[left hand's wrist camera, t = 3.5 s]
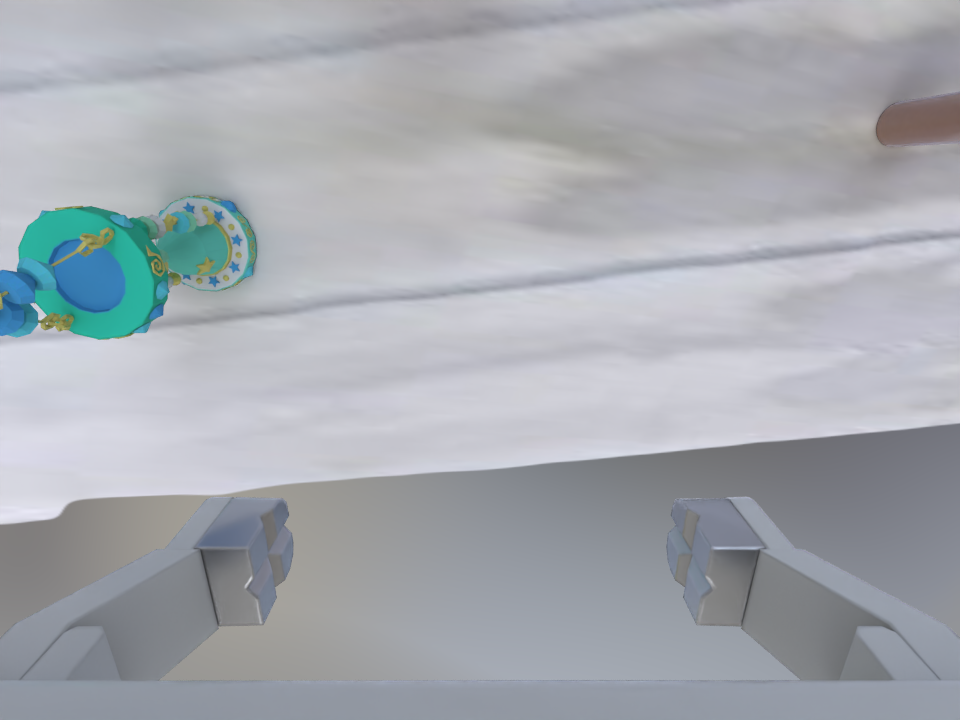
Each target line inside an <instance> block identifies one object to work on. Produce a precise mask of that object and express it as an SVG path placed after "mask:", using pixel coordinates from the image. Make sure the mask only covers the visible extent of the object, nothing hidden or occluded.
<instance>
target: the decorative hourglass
mask: <svg viewBox="0 0 960 720" xmlns="http://www.w3.org/2000/svg"><path fill="white" fill-rule="evenodd" d="M59 209H64V210H59ZM55 210H57V211H42V212H41V214H40V216H39V218H38V219H37V220H35V221H34V222H33V223H31V224H30V225H28V227H27V229H26V231H25V234H24V236H23V238H22V241H21V243H20V245H19V247H18V248H19V263H18V266H17V272H13V271H7V270H1V271H0V336H4V335H9V336H13V337H20V336H24V335H27V334H30V333H31V332H32V331H33V330H34V329H35V327H36V326H37V325H38V323H41V328H42V329H44V330H48V329H50V328H53V327H54V326H56V329H57V330H58V331H62V330H69V331H71V332H73V333H74V334H78V335H83V336H87V337H91V338H95V339H97V340H105V339H110V338H118V339H119V338H124V337H128V336H131V335H132V334H134V333H146V332H147V331H148V328H149V326H150V324H151V321H153V320H154V319H156V318H157V317H160V316H162V315H163V306H164V304H165V302H166V301H167V297H168V293H169V292H170V291H169V288H170V287H172V285H178V284H180V282H182V283H183V284H186V285H189V286H191V287H193V288H195V289H197V290H205V291H219V290H224V289H227V288H230V287H232V286H235V285H237V284H239V283H240V282H241V281H242V280H243V279H244V278H246V277H249V276H251V275H253V265H254V262H255V259H256V256H257V253H256V241H255V236H254V234H253V232H252V230H251V228H250V226H249V224H248V221H247V220H246V219H245V218H244V217H243V216H242V215H241V214H240V213H239V212H238V211H237V209H236V207H235V205H234V203H232V202H230V201H221V200H219V199H217V198H215V197H208V196H204V195H200V196H193V197H190V196H188V197H184V198H182V199H180V200H177V201H174V202H172V203H170V205H169V206H168V207H167V208H166V209H165V210H162V211H160V213H159V217H157V216H154V215H150V216H147V217H144V216H142V217H139V218H130V219H128V218H127V217H126V216H125V215H120V214H118V213H116V212H112V211H108V210H104V209H100V208H96V207H92V206H90V207H83V206H75V207H63V208H55ZM152 239H156V246H157V247H156V246H155V245H154V243H153V242H152V241H151V240H152ZM168 270H169V271H170V272H171V273H169V274H168ZM30 303H34V304H35V303H36V304H37V305H38V306H39V307H40V308H41V309H42V310H43V312H44V313H45V314H46V315H47V317H45V318H44V319H42V320H41V321H40V320H38V312H37V311H36V310H35V309H34V308H33V307H32V306H31V305H30ZM47 322H48V325H46V323H47ZM55 322H56V323H55Z"/></svg>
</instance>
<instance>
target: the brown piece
mask: <svg viewBox="0 0 960 720" xmlns="http://www.w3.org/2000/svg"><path fill="white" fill-rule="evenodd" d="M876 132H877V137H878V139H879V141H880V142H881V143H882V144H883V145H885V146H888V147H903V146H920V145H938V144H955V143H960V92H954V93H948V94H942V95H936V96H930V97H924V98H918V99H912V100H906V101H900V102H897V103H894V104H892V105H891V106H889V107H888V108H887V109H886V110H885V111H884V112H883V113H882V115H881V116H880V118H879V120H878V123H877V128H876Z"/></svg>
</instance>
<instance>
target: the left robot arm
mask: <svg viewBox="0 0 960 720" xmlns="http://www.w3.org/2000/svg"><path fill="white" fill-rule="evenodd" d="M288 516H289V512H288V508H287V503H286V501H285V500H284V499H282V498H246V497H236V498H234V497H212V498H209V499H206V500H205V501H204V503H203V504H202V505H201V506H200V507H199V509H198V510H197V511H196V512H195V513H194V515H193V516H192V517H191V518H190V519H189V520H188V522H187V523H186V524H185V525H184V526H183V528H182V529H181V530H180V531H179V532H178V534H177V535H176V536H175V537H174V538H173V539H172V541H171V542H170V543H169V544H168V545H167V547H166V548H165V549H156V550H154V551H152V552H150V553H148V554H146V555H145V556H143V557H141V558H139V559H137V560H135V561H133V562H131V563H130V564H127V565H126V566H124V567H122V568H120V569H118V570H116V571H114V572H112V573H110V574H108V575H107V576H105V577H103V578H101V579H99V580H97V581H95V582H93V583H91V584H89V585H87V586H86V587H84V588H82V589H80V590H78V591H76V592H74V593H72V594H70V595H68V596H67V597H65V598H63V599H61V600H59V601H57V602H55V603H53V604H51V605H49V606H47V607H46V608H44V609H42V610H40V611H38V612H36V613H34V614H32V615H30V616H28V617H27V618H25V619H23V620H21V621H19V622H17V623H15V624H14V625H13V626H12V627H11V628H10V629H9V630H8V631H7V632H6V633H5V634H4V635H2V636H1V637H0V720H960V637H959V636H958V635H957V634H956V633H955V632H954V631H953V630H952V629H951V628H950V627H949V626H948V625H946V624H944V623H943V622H941V621H939V620H937V619H935V618H933V617H931V616H929V615H927V614H925V613H924V612H922V611H920V610H918V609H916V608H914V607H912V606H910V605H908V604H907V603H905V602H903V601H901V600H899V599H897V598H895V597H893V596H891V595H889V594H888V593H886V592H884V591H882V590H880V589H878V588H876V587H874V586H872V585H870V584H869V583H867V582H865V581H863V580H861V579H859V578H857V577H855V576H853V575H851V574H850V573H848V572H846V571H844V570H842V569H840V568H838V567H836V566H834V565H832V564H831V563H829V562H827V561H825V560H823V559H821V558H819V557H817V556H815V555H813V554H812V553H810V552H808V551H806V550H804V549H795V548H794V547H793V545H792V544H791V543H790V542H789V541H788V540H787V538H786V537H785V536H784V535H783V534H782V532H781V531H780V530H779V529H778V528H777V526H776V525H775V524H774V523H773V522H772V521H771V519H770V518H769V517H768V516H767V515H766V513H765V512H764V511H763V510H762V509H761V507H760V506H759V505H758V504H757V503H756V502H755V500H753V499H751V498H749V497H729V498H709V499H708V498H707V499H706V498H705V499H675V501H674V504H673V506H672V512H671V516H672V518H673V520H674V522H675V524H676V526H675V527H674V528H673V529H672V530H671V531H670V532H669V533H668V538H667V557H668V563H669V566H670V570H671V572H672V574H673V577H674V579H675V580H676V581H677V582H678V583H680V584H681V585H682V586H684V587H685V591H684V596H683V598H684V600H685V602H686V604H687V606H688V608H689V610H690V612H691V614H692V616H693V618H694V621H695V623H696V625H712V626H742V628H741V629H742V630H744V631H745V632H746V633H747V634H748V635H749V636H751V637H752V638H753V639H754V640H755V641H756V642H757V643H759V644H760V645H761V646H762V647H763V648H764V649H766V650H767V651H768V652H769V653H770V654H771V655H772V656H774V657H775V658H776V659H777V660H778V661H779V662H781V663H782V664H783V665H784V666H785V667H786V668H787V669H789V670H790V671H791V672H792V673H793V674H794V675H796V676H797V677H798V678H799V679H800V680H755V681H754V680H753V681H679V680H678V681H677V680H676V681H675V680H673V681H672V680H669V681H668V680H431V681H430V680H426V681H424V680H423V681H421V680H418V681H159V680H160V679H161V678H162V677H163V676H165V675H166V674H167V673H168V672H169V671H170V670H171V669H173V668H174V667H175V666H176V665H177V664H178V663H180V662H181V661H182V660H183V659H184V658H185V657H187V656H188V655H189V654H190V653H191V652H192V651H193V650H195V649H196V648H197V647H198V646H199V645H200V644H202V643H203V642H204V641H205V640H206V639H207V638H209V637H210V636H211V635H212V634H213V633H214V632H215V631H217V630H218V626H248V625H264V623H265V621H266V618H267V616H268V614H269V612H270V610H271V608H272V606H273V604H274V602H275V600H276V591H275V587H276V586H278V585H279V584H280V583H282V582H283V581H284V580H285V579H286V577H287V574H288V572H289V570H290V567H291V562H292V557H293V538H292V533H291V532H290V531H289V530H288V529H287V528H286V527H285V526H284V524H285V522H286V520H287V518H288Z"/></svg>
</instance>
